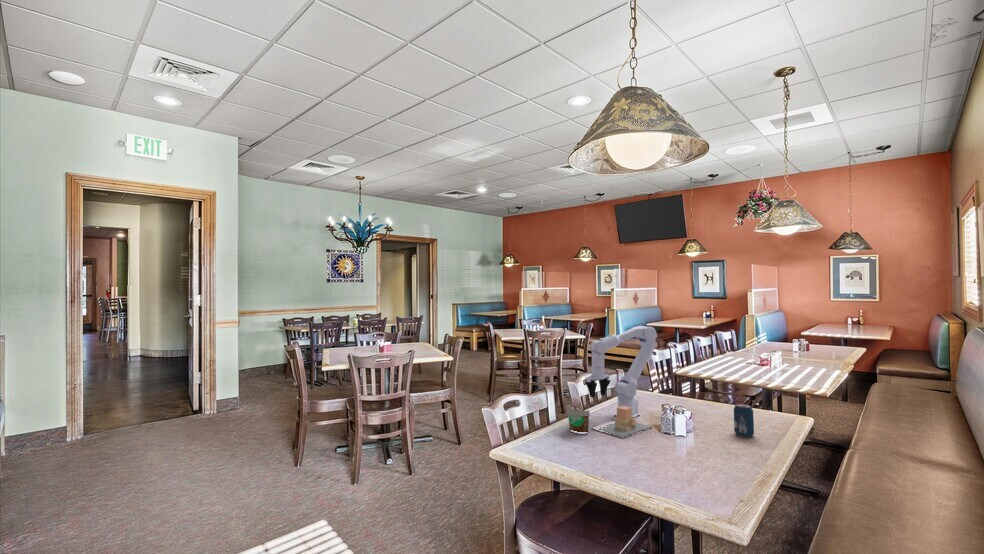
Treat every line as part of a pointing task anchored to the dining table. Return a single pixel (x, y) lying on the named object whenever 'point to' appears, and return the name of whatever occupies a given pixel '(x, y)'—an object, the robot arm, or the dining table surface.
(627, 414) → the terracotta block
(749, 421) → the soda can
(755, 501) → the dining table surface
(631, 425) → the oak base block
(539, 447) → the dining table surface
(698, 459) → the dining table surface
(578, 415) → the food container
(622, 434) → the slate board
